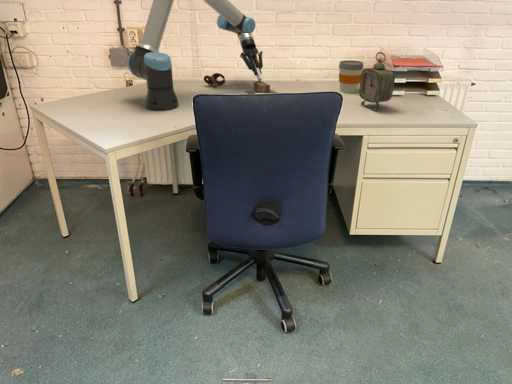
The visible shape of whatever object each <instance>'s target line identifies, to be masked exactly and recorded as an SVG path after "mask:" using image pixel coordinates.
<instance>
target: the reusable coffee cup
mask: <svg viewBox="0 0 512 384" xmlns="http://www.w3.org/2000/svg"><path fill="white" fill-rule="evenodd" d="M338 69H339V72H338V82H339V91H340V92H341V93H344V94H356V93H357V92H358V88H359V86H360V79H361V74H362V71H363V69H364V62H362V61H359V60H351V59H350V60H341V61H339V64H338Z"/></svg>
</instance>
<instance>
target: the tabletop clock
mask: <svg viewBox="0 0 512 384" xmlns="http://www.w3.org/2000/svg"><path fill="white" fill-rule="evenodd" d="M379 54H381V55H383V57H384V59H383V60H382V58H379V59H378V58H377V57H378V55H379ZM375 59H376V61H377V62H376V63H374V65H373V67H368V68H363V69H362V73H361V79H360V83H359V86H358V88H359V90H358V92H359V93H358V94H359V97H360V98H361V99H362V100H363V101H360V104H361V106H363V105H365V102H369V103H371V104H375V107H374V108H373V110H374V112H377V111H378V110H379V107H380V104H379V103H382V102H383V103H384V102H389V101H390V100H392V97H393V92H394V88H395V80H396V75H395V73H394V72H393V71H391V70H389V69H386V65H385V64H384V62H385V61H386V54H385V53H384V52H382V51H379V52H377V53H376V54H375Z"/></svg>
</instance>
